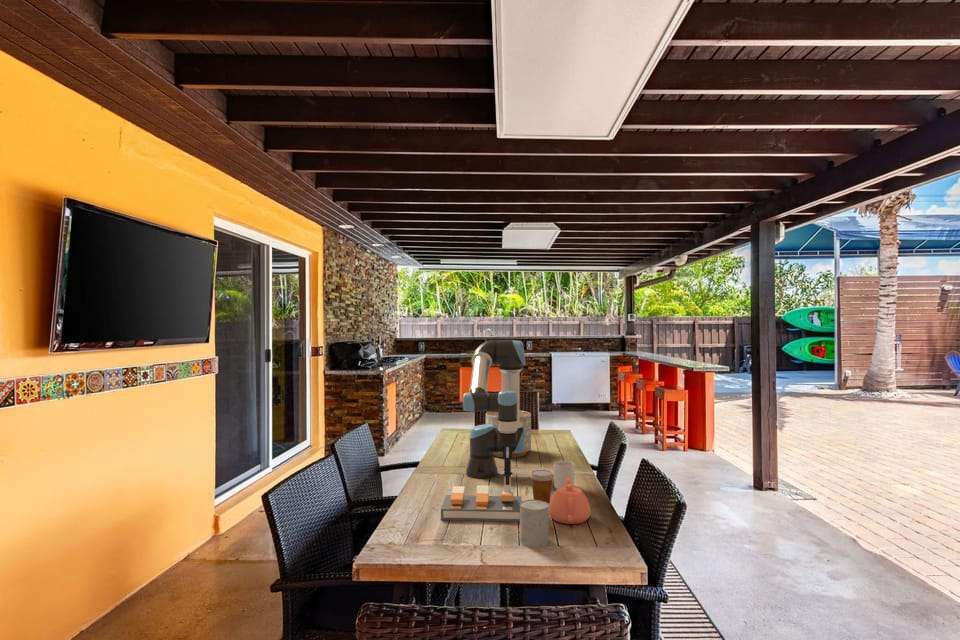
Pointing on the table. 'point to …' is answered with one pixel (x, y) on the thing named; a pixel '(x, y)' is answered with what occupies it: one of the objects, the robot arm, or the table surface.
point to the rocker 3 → (507, 496)
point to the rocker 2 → (482, 495)
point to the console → (482, 509)
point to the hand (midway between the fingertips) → (507, 492)
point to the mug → (563, 473)
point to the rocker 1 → (457, 495)
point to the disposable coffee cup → (541, 484)
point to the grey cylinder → (534, 523)
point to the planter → (526, 422)
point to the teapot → (569, 505)
